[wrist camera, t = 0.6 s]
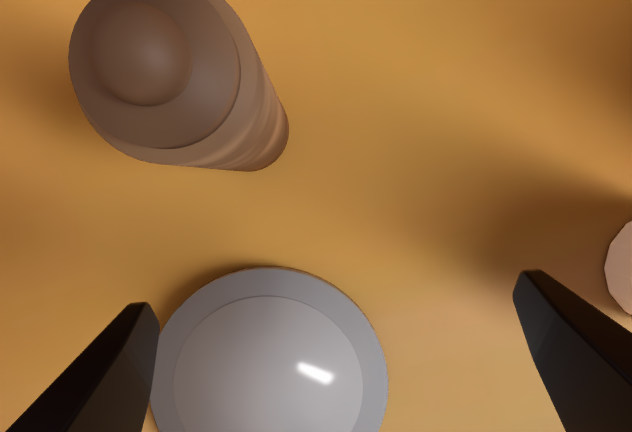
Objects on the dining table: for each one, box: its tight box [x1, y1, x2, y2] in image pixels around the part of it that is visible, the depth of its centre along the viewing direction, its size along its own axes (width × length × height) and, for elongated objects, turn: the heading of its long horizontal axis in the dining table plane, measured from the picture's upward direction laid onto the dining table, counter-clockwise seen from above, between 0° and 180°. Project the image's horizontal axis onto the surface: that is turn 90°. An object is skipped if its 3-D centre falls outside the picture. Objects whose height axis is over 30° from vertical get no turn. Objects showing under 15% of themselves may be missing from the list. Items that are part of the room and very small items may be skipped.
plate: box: [150, 266, 388, 432], centre depth 24 cm, size 14×14×1 cm
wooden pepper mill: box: [68, 0, 289, 171], centre depth 15 cm, size 5×5×15 cm
